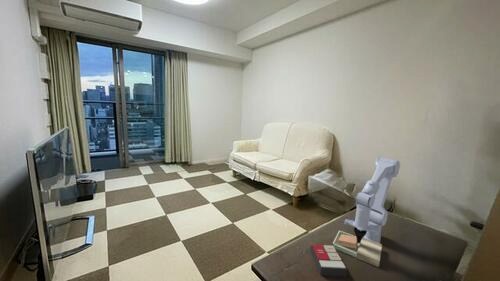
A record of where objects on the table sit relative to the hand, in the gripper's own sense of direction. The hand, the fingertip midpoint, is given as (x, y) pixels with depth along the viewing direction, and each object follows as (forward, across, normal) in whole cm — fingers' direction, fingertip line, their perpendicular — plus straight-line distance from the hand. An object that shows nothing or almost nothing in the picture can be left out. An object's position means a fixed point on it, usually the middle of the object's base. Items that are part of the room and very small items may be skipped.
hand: (358, 242), depth 101 cm
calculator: (+5, -10, -18) cm, 21 cm away
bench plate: (+4, +5, 0) cm, 6 cm away
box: (+4, -5, 0) cm, 6 cm away
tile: (+3, -4, 0) cm, 5 cm away
